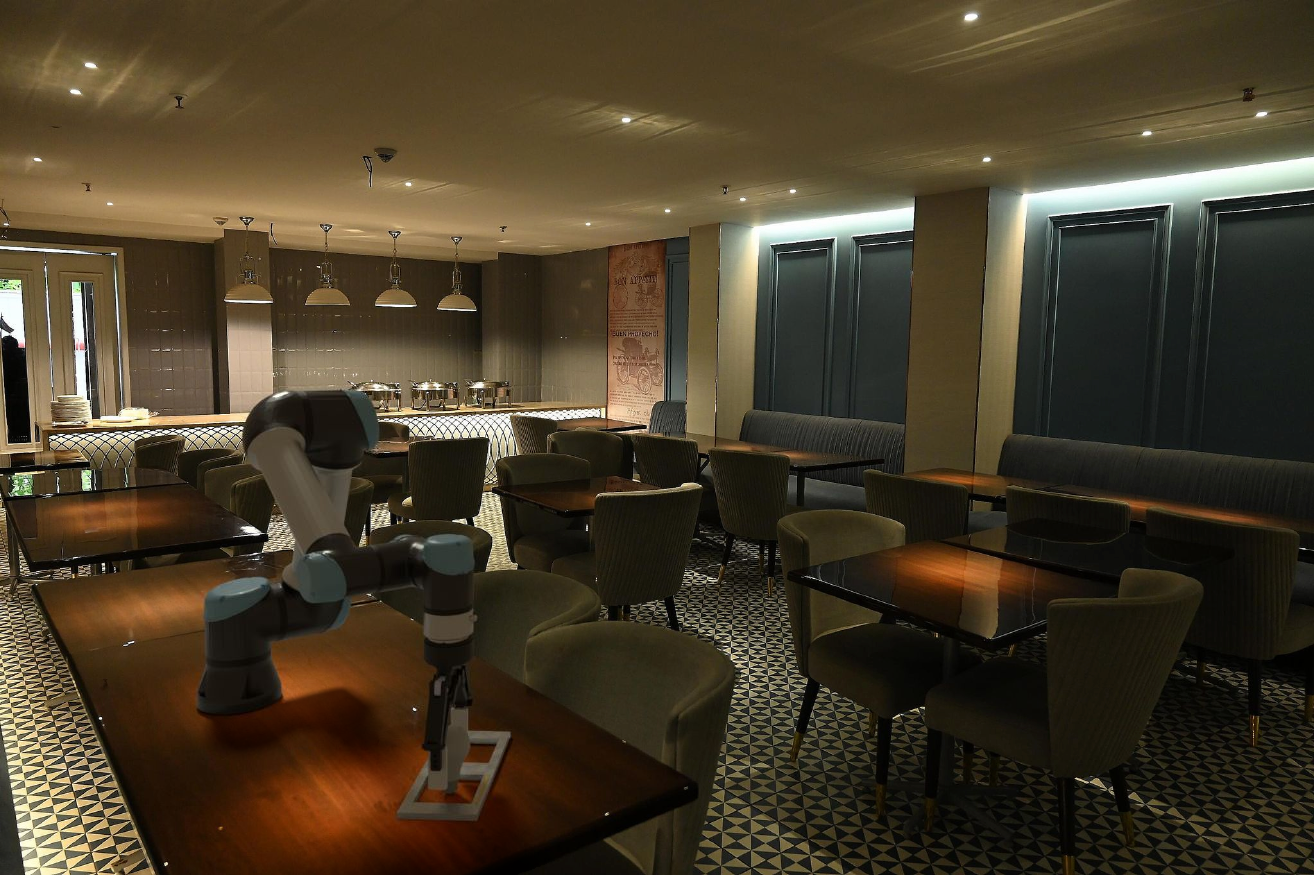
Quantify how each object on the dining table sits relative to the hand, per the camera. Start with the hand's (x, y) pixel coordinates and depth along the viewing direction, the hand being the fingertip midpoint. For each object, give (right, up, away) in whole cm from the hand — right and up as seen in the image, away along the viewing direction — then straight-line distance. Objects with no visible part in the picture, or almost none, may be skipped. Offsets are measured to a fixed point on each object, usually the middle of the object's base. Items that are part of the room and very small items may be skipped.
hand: (449, 766), depth 135 cm
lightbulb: (0, -5, +1) cm, 5 cm away
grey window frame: (0, -4, +7) cm, 8 cm away
